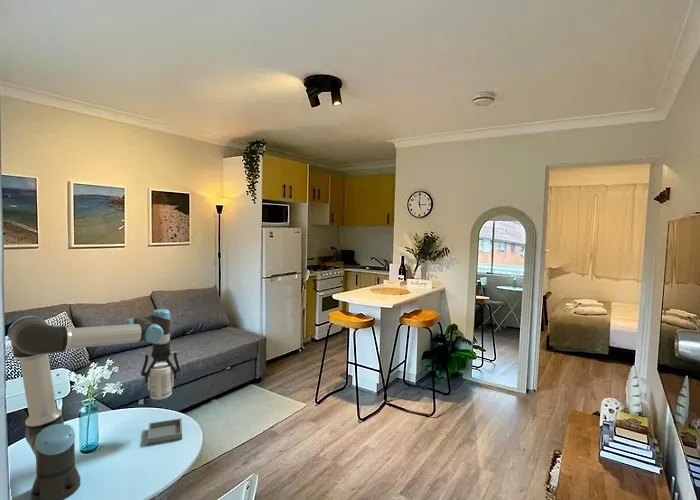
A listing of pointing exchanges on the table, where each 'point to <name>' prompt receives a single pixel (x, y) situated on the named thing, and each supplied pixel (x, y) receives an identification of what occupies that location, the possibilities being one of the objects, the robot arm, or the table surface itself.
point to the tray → (164, 431)
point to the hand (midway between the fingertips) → (160, 387)
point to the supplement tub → (160, 381)
